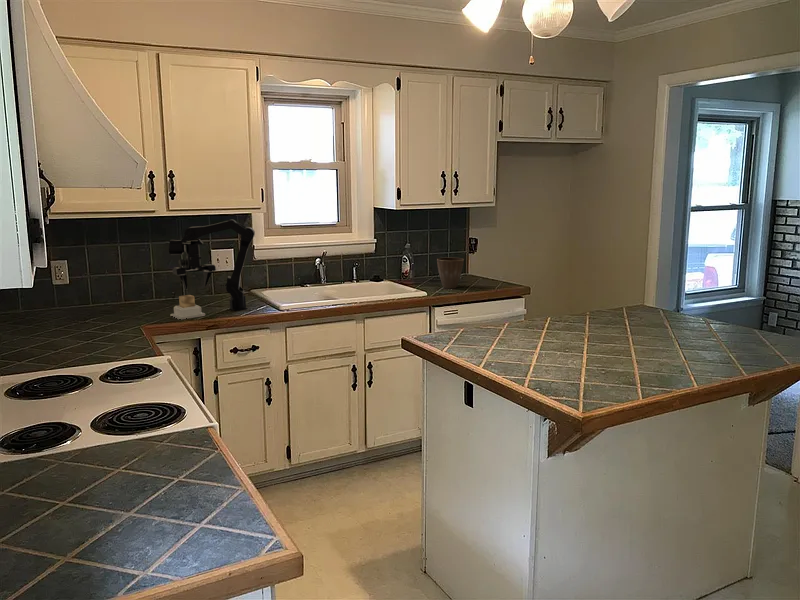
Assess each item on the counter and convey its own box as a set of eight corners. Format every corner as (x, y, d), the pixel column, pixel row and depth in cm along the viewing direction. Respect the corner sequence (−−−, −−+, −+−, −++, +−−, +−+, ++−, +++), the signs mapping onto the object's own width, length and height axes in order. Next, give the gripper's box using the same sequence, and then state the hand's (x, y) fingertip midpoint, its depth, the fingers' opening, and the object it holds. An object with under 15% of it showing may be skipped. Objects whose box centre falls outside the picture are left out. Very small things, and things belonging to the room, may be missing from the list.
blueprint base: (196, 312, 297) (195, 302, 296) (205, 315, 290) (204, 305, 289) (170, 316, 289) (169, 306, 288) (179, 319, 282) (178, 309, 281)
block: (190, 305, 292) (189, 294, 291) (195, 307, 288) (194, 296, 287) (179, 307, 289) (178, 296, 288) (184, 308, 285) (183, 297, 284)
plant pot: (450, 284, 366) (451, 256, 363) (469, 287, 355) (469, 258, 352) (431, 287, 357) (431, 258, 354) (449, 290, 346) (449, 261, 343)
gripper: (205, 251, 307) (207, 283, 310) (166, 254, 295) (169, 287, 298) (215, 253, 299) (217, 286, 302) (176, 256, 287) (178, 290, 290)
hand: (195, 287), depth 298 cm, fingers open, 9 cm apart
